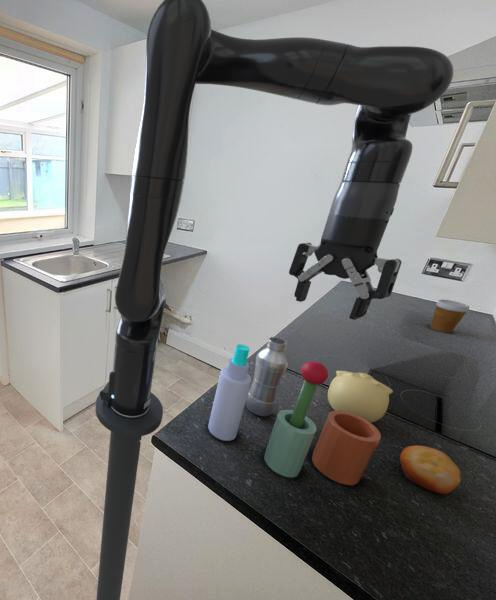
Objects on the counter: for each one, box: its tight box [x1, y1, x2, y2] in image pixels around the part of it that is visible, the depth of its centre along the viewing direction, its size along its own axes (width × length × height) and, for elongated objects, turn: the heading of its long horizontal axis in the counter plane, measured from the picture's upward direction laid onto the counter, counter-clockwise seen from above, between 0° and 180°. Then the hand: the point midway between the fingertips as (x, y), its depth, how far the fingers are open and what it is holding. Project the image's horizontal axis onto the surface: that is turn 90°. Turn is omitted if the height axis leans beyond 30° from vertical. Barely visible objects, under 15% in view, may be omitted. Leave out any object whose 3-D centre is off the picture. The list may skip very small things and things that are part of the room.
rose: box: [289, 360, 329, 429], centre depth 59 cm, size 4×4×23 cm
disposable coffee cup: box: [430, 299, 470, 334], centre depth 129 cm, size 10×10×12 cm
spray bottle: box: [207, 344, 252, 442], centre depth 67 cm, size 6×6×22 cm
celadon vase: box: [263, 409, 317, 478], centre depth 61 cm, size 6×6×11 cm
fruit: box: [399, 444, 462, 495], centre depth 60 cm, size 8×8×8 cm
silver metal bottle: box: [245, 336, 289, 417], centre depth 74 cm, size 6×7×20 cm
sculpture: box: [327, 370, 394, 424], centre depth 77 cm, size 11×12×11 cm
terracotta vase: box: [311, 410, 382, 486], centre depth 61 cm, size 8×8×11 cm
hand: (325, 309), depth 54 cm, fingers open, 8 cm apart
